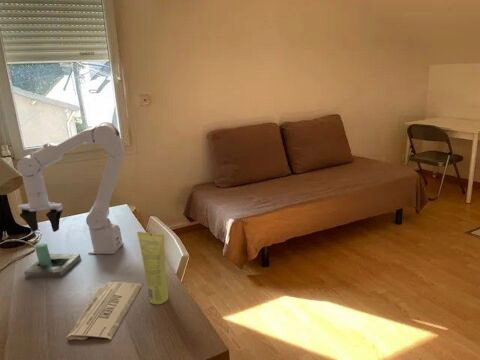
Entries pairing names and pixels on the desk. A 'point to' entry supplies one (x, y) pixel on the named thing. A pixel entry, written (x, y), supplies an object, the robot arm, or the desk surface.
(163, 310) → the desk surface
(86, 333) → the newspaper
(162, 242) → the tube
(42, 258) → the peg
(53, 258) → the keyhole plate
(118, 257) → the desk surface
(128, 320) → the desk surface
